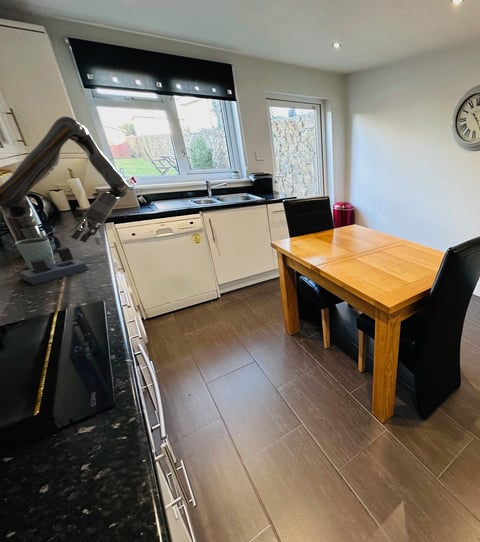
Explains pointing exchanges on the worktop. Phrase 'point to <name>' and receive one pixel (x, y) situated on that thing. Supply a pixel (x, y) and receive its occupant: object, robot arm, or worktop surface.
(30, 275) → the pad mount
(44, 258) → the drinking glass
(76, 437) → the worktop surface
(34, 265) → the mounted pad
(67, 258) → the back pad
